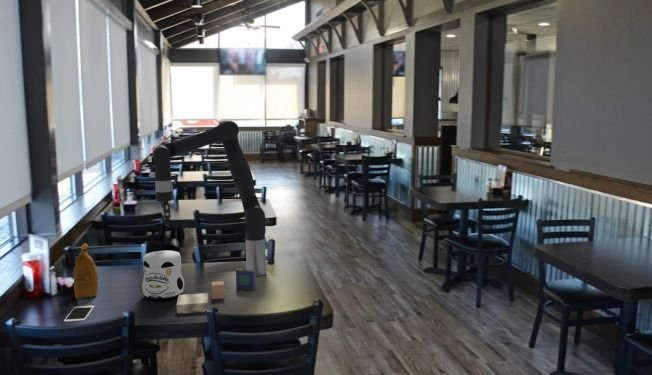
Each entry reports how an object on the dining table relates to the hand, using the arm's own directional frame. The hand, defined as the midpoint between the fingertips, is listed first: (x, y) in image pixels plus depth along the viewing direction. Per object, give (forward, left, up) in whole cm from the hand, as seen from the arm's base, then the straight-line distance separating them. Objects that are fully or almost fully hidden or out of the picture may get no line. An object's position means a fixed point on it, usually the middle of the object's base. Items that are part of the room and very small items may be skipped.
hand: (166, 225), depth 265 cm
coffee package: (+34, +11, -27) cm, 45 cm away
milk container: (+1, +19, -27) cm, 33 cm away
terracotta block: (-22, +25, -27) cm, 43 cm away
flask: (-34, +18, -27) cm, 47 cm away
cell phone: (+32, +34, -27) cm, 54 cm away
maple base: (-12, +36, -27) cm, 47 cm away
